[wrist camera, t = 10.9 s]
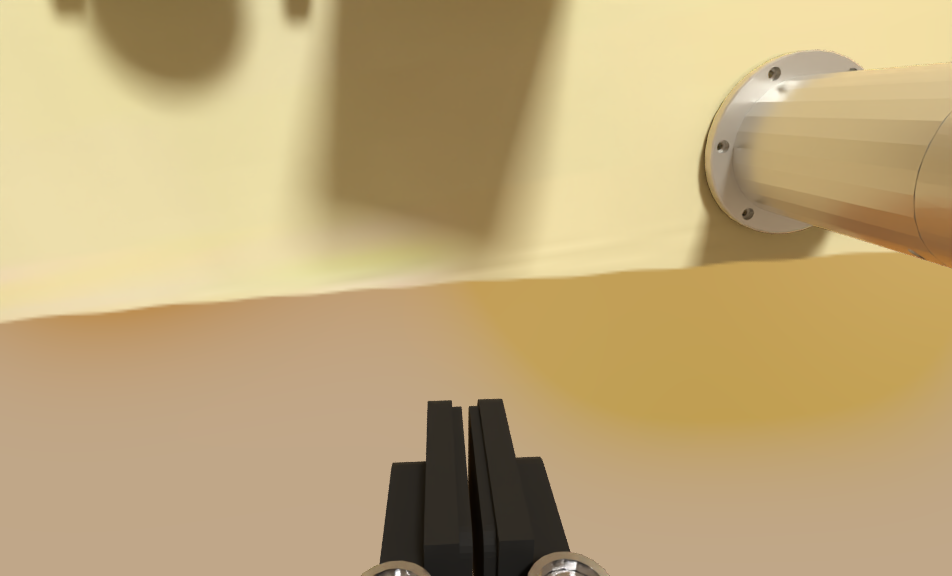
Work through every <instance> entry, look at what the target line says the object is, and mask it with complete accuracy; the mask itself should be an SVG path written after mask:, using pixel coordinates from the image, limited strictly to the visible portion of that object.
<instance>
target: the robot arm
mask: <svg viewBox="0 0 952 576" xmlns="http://www.w3.org/2000/svg"><path fill="white" fill-rule="evenodd" d="M768 73H769V77H768ZM718 143H719V148H718V149H717V146H718ZM705 171H706V177H707V183H708V185H709V188H710V190H711V193H712V196H713V198H714V199H715V201H716V202H717V204H718V205H719V207H720V208H721V209H722V210H723V211H724V212H725V213H726V214H727V215H728V216H729V217H730V218H731V219H733V220H734V221H736V222H738V223H740V224H741V225H743V226H745V227H748V228H751V229H753V230H756V231H760V232H766V233H771V234H780V233H791V232H796V231H801V230H804V229H807V228H809V227H812V226H817V227H820V228H823V229H826V230H830V231H833V232H836V233H839V234H842V235H846V236H849V237H852V238H855V239H859V240H862V241H865V242H868V243H872V244H875V245H878V246H881V247H884V248H888V249H891V250H894V251H897V252H901V253H904V254H907V255H910V256H913V257H917V258H920V259H923V260H926V261H930V262H933V263H936V264H940V265H942V266H946V267H949V268H952V62H946V63H935V64H924V65H913V66H902V67H891V68H880V69H869V70H864V69H863V67H862V66H860V65H859V64H857V63H856V62H855V61H853V60H852V59H850V58H849V57H847V56H844V55H841V54H839V53H836V52H833V51H825V50H818V49H817V50H806V51H798V52H793V53H788V54H784V55H781V56H779V57H776V58H774V59H771V60H769V61H767V62H765V63H763V64H762V65H760V66H759V67H757V68H756V69H754V70H752V71H751V72H750V73H749V74H748V75H746V76H745V77H744V78H743V79H742V80H741V81H740V82H739V83H737V84H736V86H735V87H734V88H733V89H732V91H731V92H730V93H729V94H728V96H727V97H726V98H725V99H724V101H723V103H722V105H721V106H720V108H719V110H718V112H717V113H716V115H715V117H714V120H713V123H712V125H711V128H710V131H709V134H708V139H707V144H706V149H705ZM743 211H744V212H743ZM742 213H743V214H742ZM427 411H428V412H427V445H426V447H427V448H426V461H424V462H402V463H401V462H400V463H393V464H392V468H391V477H390V484H389V492H388V500H387V508H386V517H385V525H384V533H383V541H382V549H381V557H380V564H379V565H376V566H374V567H373V568H371V569H369V570H368V571H366V572H364V573H363V574H362V575H361V576H609V574H608V573H607V572H606V570H605V569H604V568H602V567H601V566H600V565H599V564H598V563H596V562H595V561H594V560H592V559H590V558H588V557H586V556H583V555H581V554H577V553H572V552H570V549H569V546H568V543H567V539H566V536H565V533H564V530H563V526H562V523H561V520H560V516H559V513H558V510H557V506H556V503H555V500H554V497H553V493H552V490H551V487H550V483H549V480H548V477H547V473H546V470H545V467H544V464H543V461H542V459H541V458H540V457H522V458H516V457H515V453H514V448H513V444H512V439H511V435H510V431H509V426H508V422H507V418H506V413H505V409H504V405H503V401H502V399H480V400H478V404H477V406H469V421H468V422H469V423H468V424H469V425H468V426H469V428H468V430H469V431H468V436H469V439H468V478H467V467H466V455H465V444H464V431H463V420H462V409H461V407H452V401H451V400H448V401H428V410H427Z"/></svg>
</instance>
